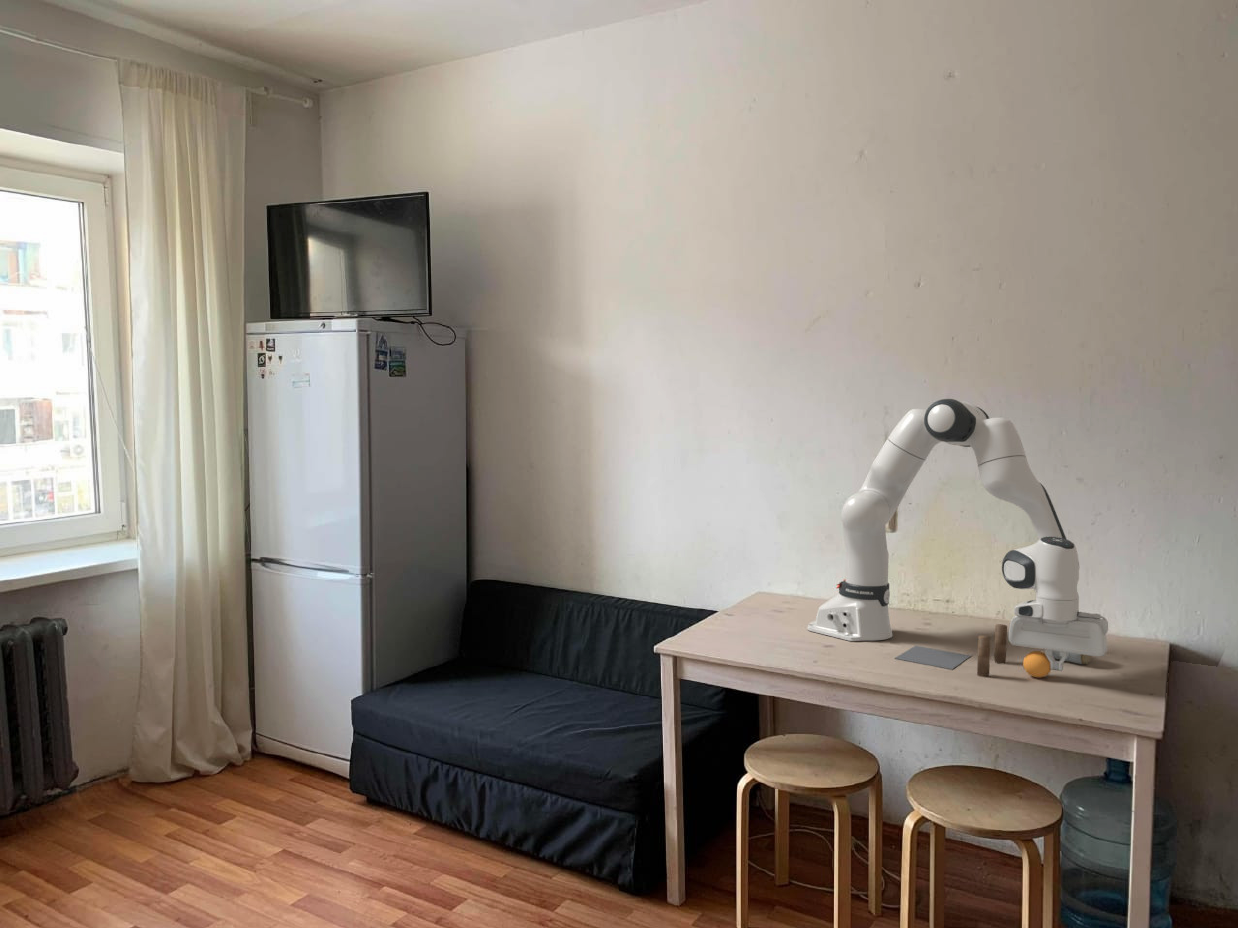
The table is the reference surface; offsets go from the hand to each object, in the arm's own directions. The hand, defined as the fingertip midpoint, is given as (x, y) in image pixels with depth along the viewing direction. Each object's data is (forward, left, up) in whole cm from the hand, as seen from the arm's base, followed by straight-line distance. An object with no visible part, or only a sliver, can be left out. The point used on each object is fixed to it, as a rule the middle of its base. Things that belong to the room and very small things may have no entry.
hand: (1056, 669), depth 211 cm
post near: (-14, -6, -3) cm, 16 cm away
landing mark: (-28, 0, -3) cm, 28 cm away
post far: (-14, +7, -3) cm, 16 cm away
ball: (-4, 0, 0) cm, 4 cm away
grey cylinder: (-1, +20, -3) cm, 20 cm away
